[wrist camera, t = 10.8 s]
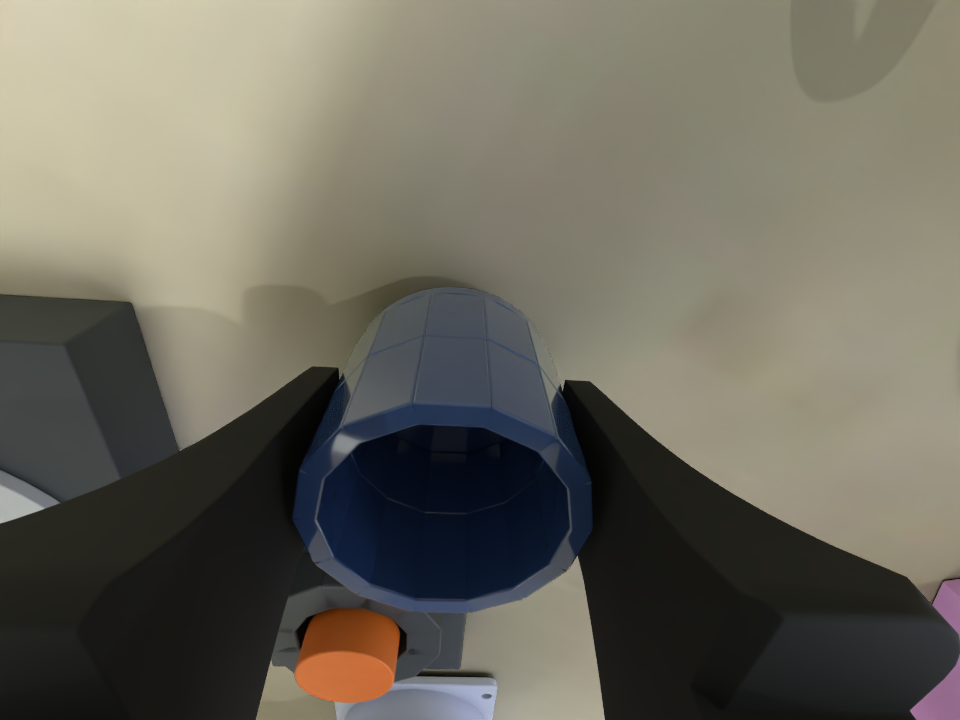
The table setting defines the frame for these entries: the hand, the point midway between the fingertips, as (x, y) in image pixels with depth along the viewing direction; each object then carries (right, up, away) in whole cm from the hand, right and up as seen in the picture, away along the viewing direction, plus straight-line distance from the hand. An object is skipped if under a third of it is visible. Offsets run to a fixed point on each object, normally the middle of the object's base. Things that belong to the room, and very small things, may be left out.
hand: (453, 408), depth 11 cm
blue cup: (0, +1, +1) cm, 1 cm away
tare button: (-4, -8, +5) cm, 10 cm away
